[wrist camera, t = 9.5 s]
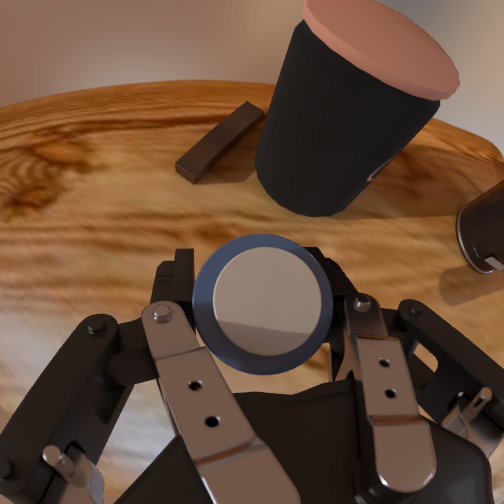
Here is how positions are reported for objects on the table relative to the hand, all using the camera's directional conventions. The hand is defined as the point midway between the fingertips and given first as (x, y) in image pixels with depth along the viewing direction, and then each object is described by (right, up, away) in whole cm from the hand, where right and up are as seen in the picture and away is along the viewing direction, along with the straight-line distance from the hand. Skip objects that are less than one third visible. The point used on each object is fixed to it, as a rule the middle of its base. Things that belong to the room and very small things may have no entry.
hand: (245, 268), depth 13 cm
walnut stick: (-3, +12, +17) cm, 21 cm away
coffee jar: (+6, +9, +17) cm, 20 cm away
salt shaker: (-1, -3, +4) cm, 5 cm away
